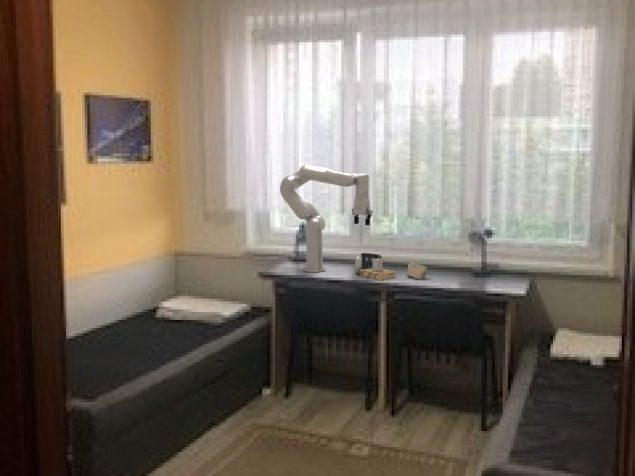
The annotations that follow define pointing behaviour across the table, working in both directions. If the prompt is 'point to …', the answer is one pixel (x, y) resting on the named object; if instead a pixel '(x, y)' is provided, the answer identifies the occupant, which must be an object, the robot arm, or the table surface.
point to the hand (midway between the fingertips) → (361, 224)
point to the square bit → (377, 265)
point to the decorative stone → (416, 271)
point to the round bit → (358, 265)
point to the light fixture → (369, 259)
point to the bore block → (377, 274)
